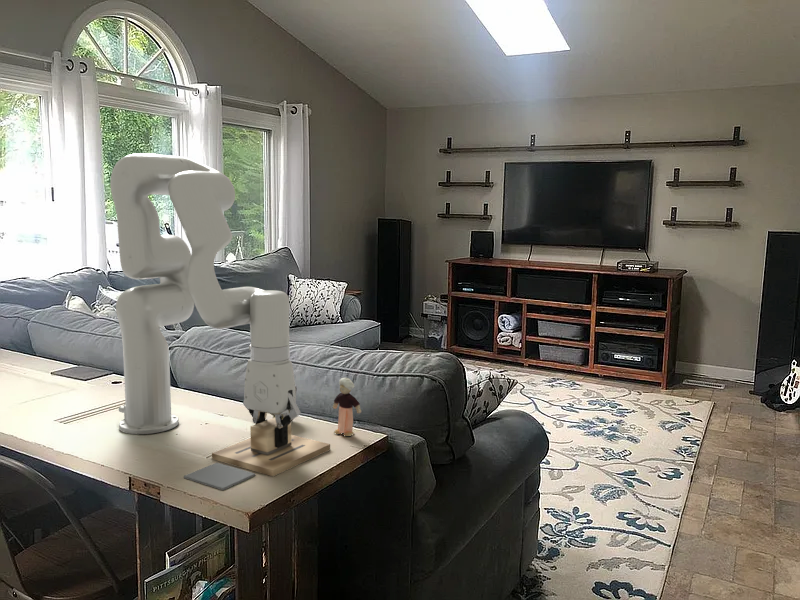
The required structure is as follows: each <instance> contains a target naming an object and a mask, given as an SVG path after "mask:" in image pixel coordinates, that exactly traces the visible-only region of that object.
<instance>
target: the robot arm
mask: <svg viewBox="0 0 800 600" xmlns="http://www.w3.org/2000/svg"><path fill="white" fill-rule="evenodd" d="M110 193H111V198H112V201H113V204H114V208H115V214H116V218H117V219H116V220H117V222H116V223H117V236H118V248H119V260H120V267H121V270H122V272H123V274H124V275H125V276H126V277H127V278H130V279H133V280H149V279H158V278H159V282H160V283H157V284H156V283H152V284H146V285H145V284H144V285H137V286H132V287H131V288H127V289H126V290H124V291H122V292H121V293H120V294H119V295H118V298H117V301H116V304H115V310H116V311H115V312H116V317H117V321H118V325H119V329H120V334H121V339H122V340H121V342H122V354H123V355H122V358H123V378H124V379H123V380H124V397H125V402H124V404H123V405H120V406H119V407H118V412H120V413H123V415H124V416H123V419H121V420H120V421H119V422H118V429H119V431H121V432H123V433H126V434H131V435H150V434H152V435H153V434H156V433H157V434H158V433H163V432H167V431H169V430H172V429H174V428H176V427H177V426H178V425H179V417H178V416H177V415H175V414H172V399H171V397H172V395H171V373H170V372H171V371H170V370H171V369H170V351H169V349H170V348H169V344H168V341H167V339H166V337H165V336H164V334H163V332H162V330H161V328H163V327H165V326H170V325H175V324H179V323H183V322H186V321H187V320H188V319H189V318H190V317H191V316H192V314H193V312H194V308H196V311H197V312H198V314H199V316H200V318H201V320H202V321H203V322H204V323H205V324H206V325H207V326H209V327H210V328H212V329H217V330H223V329H224V330H225V329H229V328H233V327H238V326H245V325H248V324H249V327H250V328H249V332H250V333H249V334H250V336H249V337H250V339H249V341H250V345H249V346H248V351H249V352H250V358H249V359H248V360H247V363H246V368H245V373H244V374H245V375H244V391H243V393H244V396H243V402H242V404H243V407H245V408H246V409H247V411H248V413H249V414H250V416H251V417H252V422H253V423H254V425H256V424H258V423H261V422H264V421H266V420H267V416H268V414H269V415H271V414H275V419H276V424H277V427H276V428H275V447H277V448H279V447H281V446H284V445H286V444H287V443H288V425H290V424H291V425H292V422H293V421H294V420H295V419H296V418H297V417H299V416H301V414H302V412H301V410H300V407H299V406H298V404H297V402H296V401H297V390H296V389H295V386H296V380H295V372H294V367H293V363H292V361H291V359H290V358H291V356H290V354H291V353H290V352H291V351H290V299H289V296H288V294H287V293H286V292H285V291H281V290H277V289H276V290H272V289H271V290H270V289H269V290H267V289H266V290H265V289H262V288H258V287H255V286H240V287H233V288H232V287H230V288H224V289H222V288H221V285H220V283H219V281H218V278H217V275H216V272H215V259H216V256H217V254H218V253H219V252H220V251H221V250H224V248H226V247H227V246H229V244H230V243H231V242H232V240H233V234H232V230H231V229H230V226H229V224H228V221H227V220H226V217H225V214H224V212H226V211H228V210H229V209H231V208H232V206H233V205H234V202H235V200H236V190H235V187H234V185H233V182H232V181H231V179H230V178H229V177H228V176H227V175H225V174H224V173H223V172H221V171H220V170H219V171H218V170H216V169H215V168H213V167H210V166H208V165H206V164H203V163H201V162H199V161H196V160H195V159H193V158H190V157H189V158H188V157H186V156H180V155H178V156H177V155H169V154H168V155H167V154H158V153H147V152H146V153H144V152H142V153H141V152H140V153H132V154H128V155H126V156H123V157H121V158H120V159H119V160H118V161H117V162H116V163H115V165H114V166H113V168H112V171H111V175H110ZM150 195H156V196H157V195H158V196H169V198H170V200H171V203H172V205H173V208H174V210H175V212H176V214H177V217H178V220H179V222H180V225H181V226H182V229H183V231H184V233H185V236H186V239H187V241H188V244H189V245H190V248H191V251H190V249H189V245H188V244H187V243H186V241H185V240H184V239H183V238H181V237H179V236H178V235H175V234H161V230H160V218H159V217H160V216H159V213H158V211H157V209H156V207H155V205H154V203H153V202H152V200H151V199H150V198H149V196H150ZM160 327H161V328H160ZM288 410H290V413H289V411H288ZM282 414H283V419H282V416H281V415H282Z"/></svg>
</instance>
